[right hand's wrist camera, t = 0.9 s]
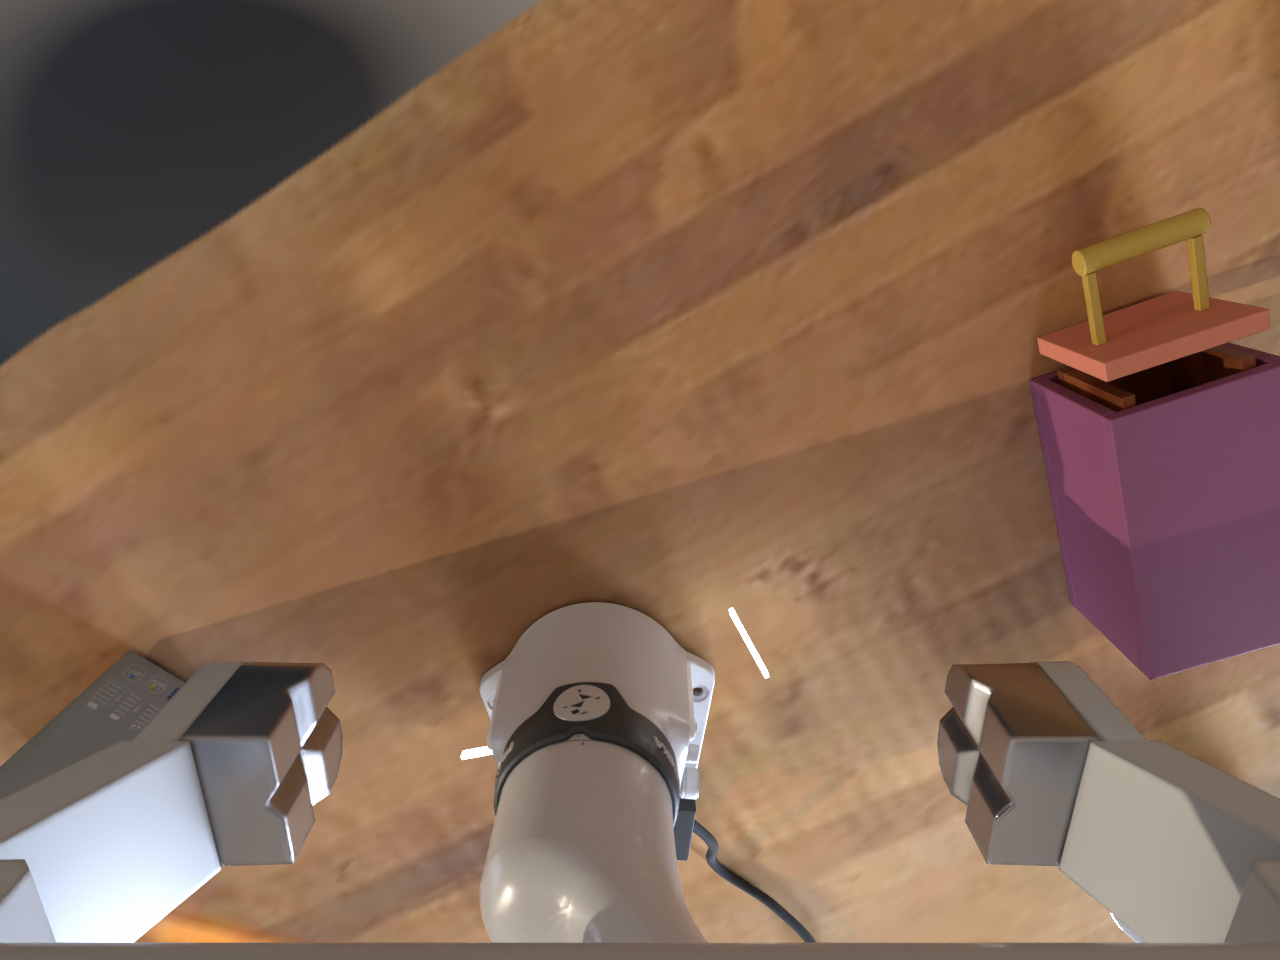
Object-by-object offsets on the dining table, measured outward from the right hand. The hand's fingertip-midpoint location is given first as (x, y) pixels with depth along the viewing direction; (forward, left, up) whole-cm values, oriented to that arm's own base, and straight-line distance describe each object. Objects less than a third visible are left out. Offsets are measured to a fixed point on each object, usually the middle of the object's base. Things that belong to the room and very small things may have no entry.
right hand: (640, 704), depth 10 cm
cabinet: (-15, -34, -45) cm, 58 cm away
